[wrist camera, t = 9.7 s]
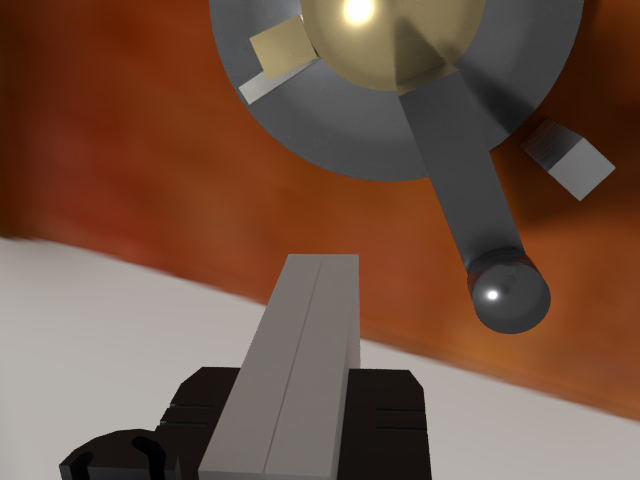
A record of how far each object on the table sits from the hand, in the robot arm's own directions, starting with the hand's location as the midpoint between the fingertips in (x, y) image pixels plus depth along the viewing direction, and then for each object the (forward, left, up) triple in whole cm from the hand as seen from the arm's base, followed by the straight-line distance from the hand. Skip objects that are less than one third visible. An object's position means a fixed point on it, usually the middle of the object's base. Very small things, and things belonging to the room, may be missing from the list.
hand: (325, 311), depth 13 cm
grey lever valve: (-4, -1, -17) cm, 18 cm away
